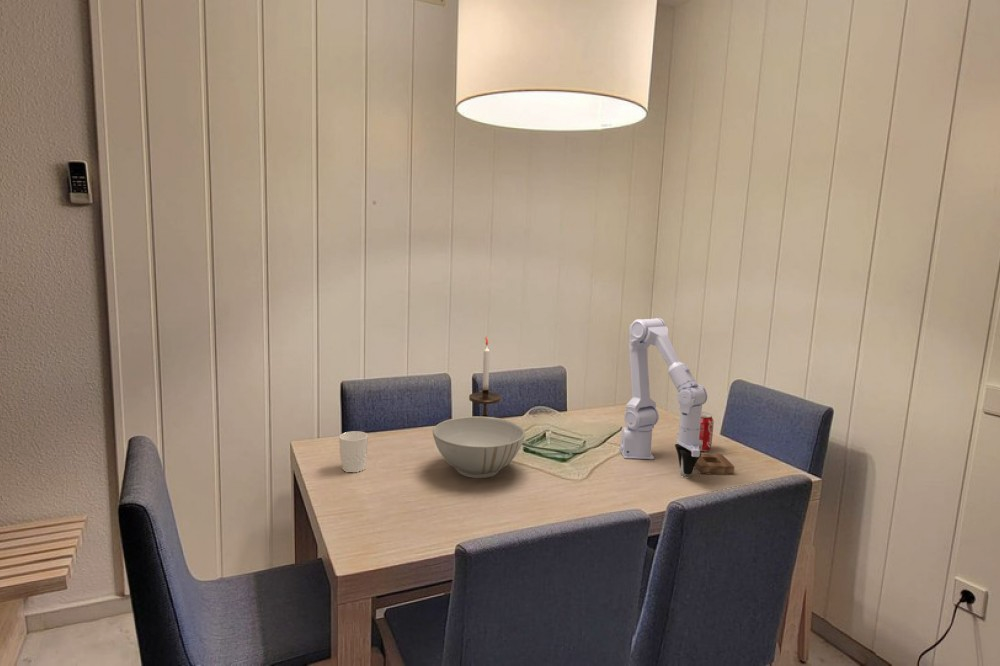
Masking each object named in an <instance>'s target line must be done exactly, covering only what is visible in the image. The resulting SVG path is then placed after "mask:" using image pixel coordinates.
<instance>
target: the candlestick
mask: <svg viewBox="0 0 1000 666" xmlns="http://www.w3.org/2000/svg"><path fill="white" fill-rule="evenodd" d="M484 339H485V349H483V367H482V369H483V370H482V372H483V374H482V377H483V378H482V387H480V388H479V390H480V392H478V391H477V392H474V393H473V392H472V393H471V394H469V397H468V400H469V401H470V402H472V403H475V404H479V405H480V404H481V405H482V414H480V416H482V417H490V415H489V414H488V405H490V404H491V405H493V404H497V403H500V402H501V401H502V395H501V394H499V393H496V392H491V390H492V388H491V387H489V381H490V379H489V378H490V377H489V376H490V349H489V347H488V344H489V341H488V338H487V335H486V336H485V338H484ZM489 391H490V392H489Z"/></svg>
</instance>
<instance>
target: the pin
mask: <svg viewBox="0 0 1000 666" xmlns="http://www.w3.org/2000/svg"><path fill="white" fill-rule="evenodd" d="M680 475H681V476H683V477H682V478H684V477H690V476H692V474H684V471H683V459H682V458H681V469H680V471H679V476H680ZM681 476H680V477H681ZM690 478H691V477H690Z"/></svg>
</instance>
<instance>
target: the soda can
mask: <svg viewBox="0 0 1000 666" xmlns="http://www.w3.org/2000/svg"><path fill="white" fill-rule="evenodd" d="M714 423H715V421H714V418H713V414H711V413H710V412H706V411H702V412H701V423H700V434H699V441H702V442H703V445H699V450H700V451H706V452H708V451H710V450H711V449H712V448H711V447H712V443H713V435H714V433H713V432H714Z"/></svg>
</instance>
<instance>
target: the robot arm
mask: <svg viewBox="0 0 1000 666" xmlns="http://www.w3.org/2000/svg"><path fill="white" fill-rule="evenodd" d="M628 329H629V331H628V332H629V340H628V350H629V352H628V353H629V368H630V369H629V370H630V381H631V382H630V383H631V399H630V400H629V401H628V402H627V403H626V404H625V412H624V421H625V425H626V427H622V428H621V432H620V445H619V451H620V453H621V455H622V457H623V458H624V459H637V460H640V459H643V460H655V456H654V455H653V453H651V451H652V440H653V429H655V425H656V424H657V423H658V422H659V418H660V417H659V416H660V415H659V412H658V410H657V406H656V401H654V400H653V399H652V398H651V394H650V382H649V381H650V380H649V378H650V377H649V364H648V361H649V360H648V348H650V346H651V345H652V346H655V347H656V349H657V350H658V352H659V353H660V354H661V357H662V358H663V359H664V361H665V362H666V365H668V371H667V373H668V376H669V377H670V379H671V381H672V383H673V385H674V386H675V388H676V390H677V392H678V394H677V395H676V398H677V399H676V400H677V402H678V405H679V410H680V413H679V414H680V415H679V427H678V432H677V434H676V435H677V436H676V439H677V440H676V441H677V443H676V444H674V447H675V449H676V452H677V453H676V454H677V457H678V464H679V469H680V470H681V458H682V459H683V471H684V474H691V475H692V474H693V471H694V470H695V467H694V466H695V464H696V462H697V460H698V459H699V457H700V456H701V454H702V452H700V450H699V445H703V442H702V441H699V434H700V423H701V412H703V405H705V403H706V402H707V401H708V393H707V390H706V388H705V387H704V386H702V385H701V384H700V383H699V382H697V381H696V380H695V377H694V376H693V374H692V372H691V371H690V370H691V369H690V367H689V366H688V365H687V364H686V363H684V362H681V361H680V359H679V357H678V354H677V351H676V349H675V348H674V346H673V343H672V342H671V339H670V337H669V328H668V327H667V325H666V322H665V321H664V319H662V318H660V317H655V318H644V319H640V318H638V319H634V321H633V322H632V323H631V324H630V325H629V327H628Z"/></svg>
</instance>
